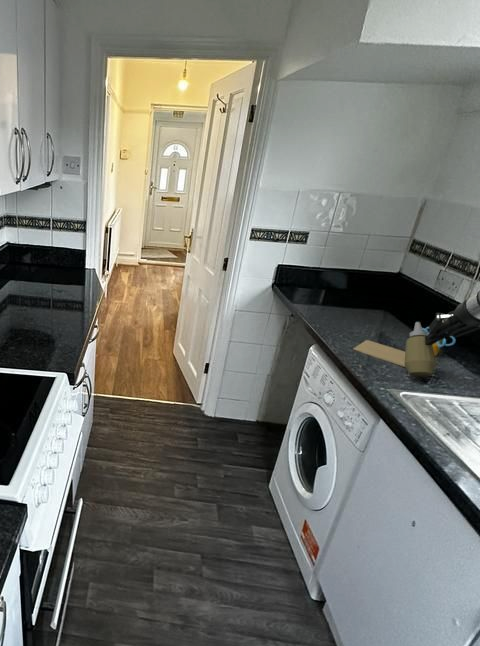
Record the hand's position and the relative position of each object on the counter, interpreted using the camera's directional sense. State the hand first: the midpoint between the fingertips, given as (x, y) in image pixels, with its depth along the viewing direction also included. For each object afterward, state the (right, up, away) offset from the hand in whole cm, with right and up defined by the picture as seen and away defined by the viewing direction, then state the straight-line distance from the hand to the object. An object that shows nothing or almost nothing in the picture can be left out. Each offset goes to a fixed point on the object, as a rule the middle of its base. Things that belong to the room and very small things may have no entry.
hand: (427, 341), depth 131 cm
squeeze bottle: (-1, -11, +1) cm, 11 cm away
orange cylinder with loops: (+19, -5, +24) cm, 31 cm away
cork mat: (+1, -5, +21) cm, 21 cm away
